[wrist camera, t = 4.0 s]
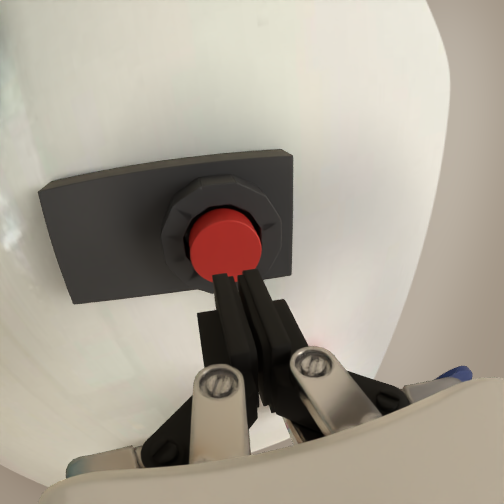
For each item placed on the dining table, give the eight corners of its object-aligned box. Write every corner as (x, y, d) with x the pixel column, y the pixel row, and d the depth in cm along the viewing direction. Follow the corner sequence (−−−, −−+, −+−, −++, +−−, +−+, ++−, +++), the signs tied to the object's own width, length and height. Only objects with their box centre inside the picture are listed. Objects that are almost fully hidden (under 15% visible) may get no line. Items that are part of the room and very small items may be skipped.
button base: (282, 148, 19) (304, 162, 16) (282, 259, 23) (300, 290, 20) (50, 181, 17) (24, 201, 13) (80, 287, 20) (66, 321, 17)
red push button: (253, 204, 17) (261, 216, 15) (255, 262, 18) (262, 279, 17) (185, 212, 16) (185, 225, 15) (193, 271, 18) (195, 288, 16)
